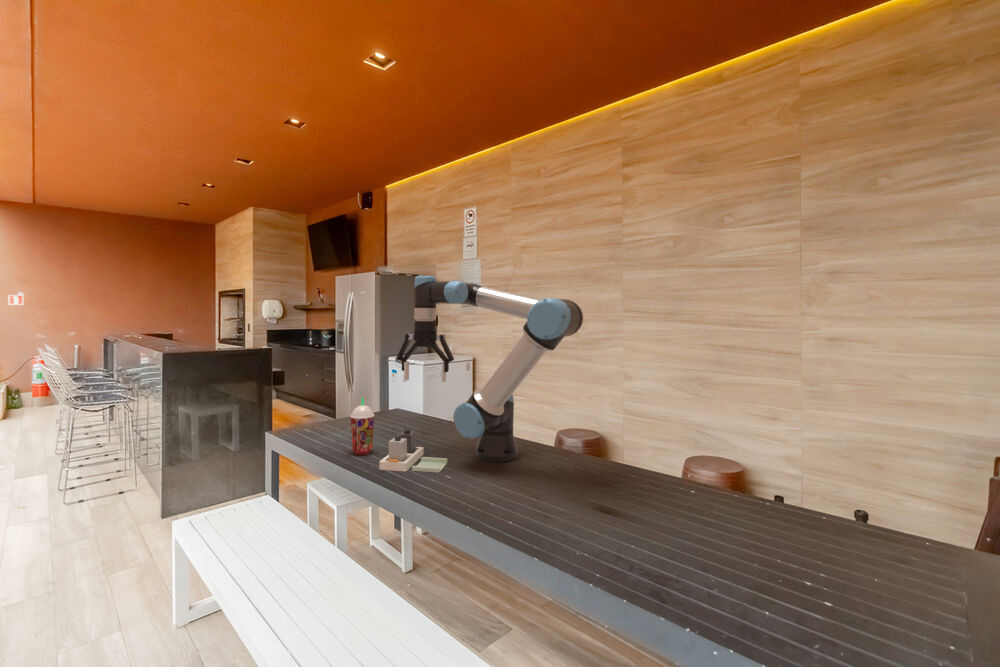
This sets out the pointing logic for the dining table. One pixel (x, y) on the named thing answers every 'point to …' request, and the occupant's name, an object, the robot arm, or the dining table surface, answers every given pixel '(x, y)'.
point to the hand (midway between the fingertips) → (425, 380)
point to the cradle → (430, 464)
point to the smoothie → (362, 429)
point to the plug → (398, 448)
